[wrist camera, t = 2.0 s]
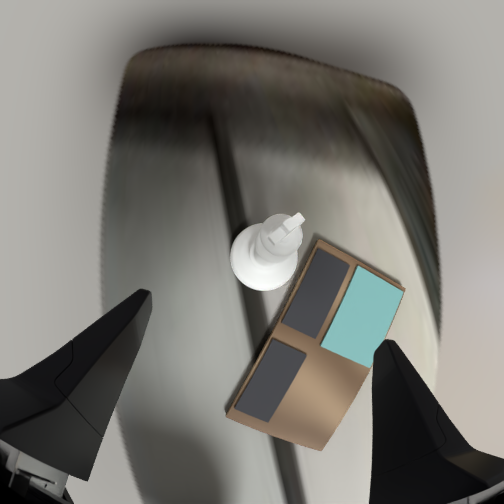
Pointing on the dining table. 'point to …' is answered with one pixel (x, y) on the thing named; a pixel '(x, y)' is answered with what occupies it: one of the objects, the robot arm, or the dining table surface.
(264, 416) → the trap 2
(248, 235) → the chess piece
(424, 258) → the dining table surface
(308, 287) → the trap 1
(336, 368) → the walnut board
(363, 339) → the pad
